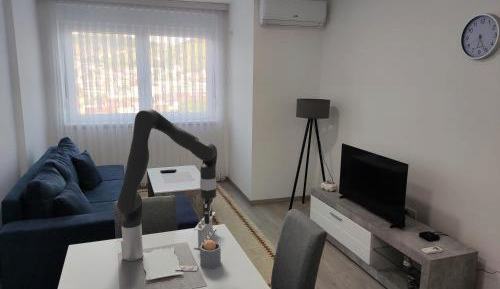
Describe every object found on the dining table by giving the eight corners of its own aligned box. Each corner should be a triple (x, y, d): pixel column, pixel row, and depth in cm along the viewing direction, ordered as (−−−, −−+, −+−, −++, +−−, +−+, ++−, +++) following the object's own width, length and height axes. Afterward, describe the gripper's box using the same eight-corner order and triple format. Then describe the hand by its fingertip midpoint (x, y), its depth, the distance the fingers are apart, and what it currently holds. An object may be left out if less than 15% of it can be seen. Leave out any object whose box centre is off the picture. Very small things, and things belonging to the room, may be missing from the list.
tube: (199, 268, 163) (199, 250, 161) (202, 258, 172) (202, 241, 170) (219, 269, 163) (218, 251, 161) (221, 259, 172) (221, 242, 170)
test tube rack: (202, 249, 181) (201, 226, 179) (194, 248, 182) (193, 225, 180) (216, 229, 205) (215, 208, 203) (208, 229, 206) (208, 208, 204)
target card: (175, 270, 161) (175, 269, 161) (177, 266, 165) (177, 265, 165) (196, 271, 161) (196, 270, 161) (198, 266, 165) (198, 265, 164)
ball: (203, 250, 162) (201, 239, 167) (206, 256, 166) (204, 246, 171) (215, 246, 163) (213, 235, 167) (218, 252, 167) (216, 242, 171)
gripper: (202, 182, 168) (203, 213, 171) (197, 191, 154) (197, 226, 157) (218, 182, 168) (218, 214, 171) (214, 192, 154) (214, 226, 157)
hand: (208, 219), depth 164 cm, fingers open, 8 cm apart
